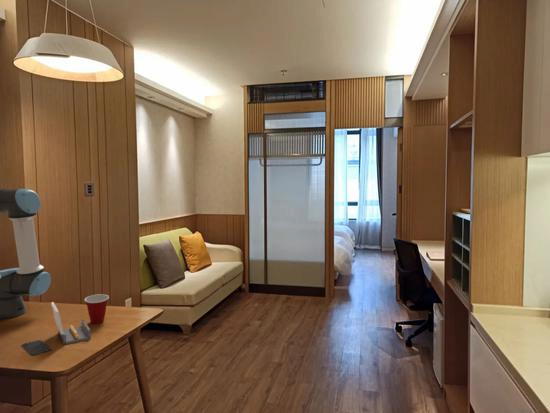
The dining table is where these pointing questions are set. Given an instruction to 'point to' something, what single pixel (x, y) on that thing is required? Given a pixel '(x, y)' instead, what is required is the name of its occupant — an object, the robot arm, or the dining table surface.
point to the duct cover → (57, 318)
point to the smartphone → (36, 347)
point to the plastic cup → (96, 307)
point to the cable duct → (76, 333)
